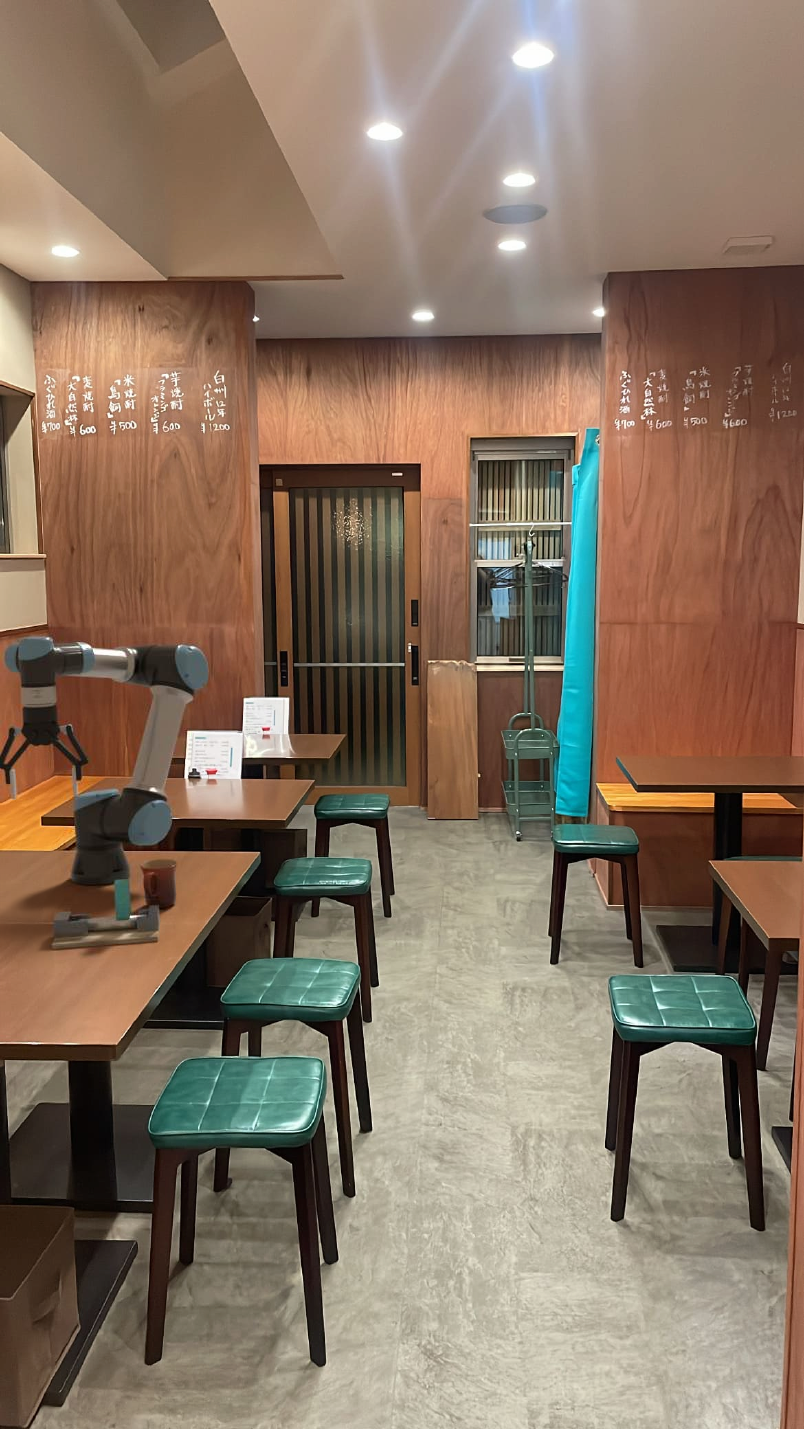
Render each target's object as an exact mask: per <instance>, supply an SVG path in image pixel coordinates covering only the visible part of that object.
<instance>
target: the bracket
mask: <svg viewBox="0 0 804 1429" xmlns="http://www.w3.org/2000/svg"><path fill="white" fill-rule="evenodd" d="M90 918H91V913H81V914H80V913H79V914H78V913H77V914H72V911H59V912H56V914H55V917H54V918H53V932H54V933H53V934H54V935H53V936H54V939H55V938H66V937H79V936H88V935H89V934H88V920H84V921H79V919H90Z"/></svg>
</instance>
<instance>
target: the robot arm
mask: <svg viewBox="0 0 804 1429" xmlns="http://www.w3.org/2000/svg"><path fill="white" fill-rule="evenodd" d="M53 640H54V639H53V638H52V637H50V636H29V637H28V636H27V637H22V638H20V640H19V641H18V642H13V643H10V644H9V645H8V646H7V648H6V650H5V652H4V655H3V656H4V660H3V661H4V664H5V666H6V668H7V669H8V670H9V671H11V672H12V673H15V674H19V676H20V677H19V678H20V692H21V693H20V694H21V704H22V705H24V706H23V707H22V727H16V726H14V725H13V726H11V727H10V728H9V729H8V738H7V740H6V742H5V744H4V746H3V748H2V751H1V753H0V770H3V771H4V774H5V775H4V777H5V778H4V779H5V784H6V785H10V793H11V794H10V796H11V798H10V799H11V800H15V799H17V798H18V792H17V790H18V789H17V778H16V777H17V776H16V769H15V768H13V766H15V764H16V763H17V761H18V760H19V759H20V758H21V756H22V755H23V754H24V752H26V750H27V749H28V748H29V746H30V745H32V746H33V747H38V746H45V747H46V746H50V745H53V746H54V747H55V748H56V749H58V750H59V752H60V753H62V755H63V756H64V757H66V758H67V760H68V761H69V762H70V763H72V765H73V766H72V767H71V774H72V775H71V776H72V794H73V797H75V798H74V800H73V820H74V822H73V823H74V835H75V848H76V851H75V856H74V859H73V863H72V866H71V870H70V880H71V882H72V883H74V884H76V885H83V886H100V885H107V884H114V882H115V880H122V879H129V878H130V877H131V865H130V863H129V860H128V858H127V856H126V854H125V850H124V848H123V843H125V844H130V845H131V844H132V845H133V844H134V845H135V846H153V845H156V844H158V843H159V842H160V841H163V839H164V838H165V837H167V834H168V833H169V831H170V829H171V826H172V823H173V822H172V821H173V813H172V808H171V806H170V805H169V804H168V803H167V802H168V799H169V797H168V795H167V794H166V792H165V787H166V782H167V779H168V775H169V770H170V768H171V767H170V766H171V764H172V759H173V755H174V753H175V752H174V751H175V749H176V748H175V747H176V744H177V741H178V735H179V733H180V728H181V724H182V721H183V716H184V712H185V708H186V706H187V704H188V703H190V702H192V701H193V700H194V696H195V694H196V691H198V690H201V689H203V687H205V686H206V685H207V683H208V679H209V674H210V672H209V671H210V670H209V663H208V661H207V658H206V656H205V653H204V652H203V650H201V649H200V648H198V647H196V646H193V645H186V644H175V645H174V644H146V645H144V644H143V645H138V646H137V645H135V646H117V647H114V648H113V649H109V648H99V647H92V646H91V645H89V644H88V642H87V643H86V642H81V641H80V642H78V641H74V642H54V641H53ZM64 676H69V677H85V678H100V679H101V678H102V679H103V678H104V679H105V678H107V679H112V680H113V681H115V682H117V683H125V684H132V685H137V686H140V687H141V686H142V687H147V688H149V690H150V692H151V694H152V695H153V698H152V701H151V707H150V710H149V713H148V717H147V720H146V724H145V729H144V731H143V735H142V740H141V743H140V747H139V751H138V755H137V758H136V762H135V766H134V769H133V770H134V771H133V773H132V776H131V780H130V782H129V783H128V784H127V785H125V786H123V788H122V790H121V793H120V791H119V789H117V788H109V789H108V788H107V789H100V790H93V791H89V792H84V793H81V794H79V785H78V784H79V783H78V782H80V781H82V779H83V772H82V771H83V770H82V767H83V766H85V765H88V764H89V762H90V758H89V756H88V755H87V753H86V751H85V750H84V748H83V745H81V742H80V741H79V740H78V737H77V736H76V735H75V732H74V727H73V724H72V723H69V724H66V725H61V726H60V725H59V722H58V720H59V719H58V706H57V705H56V703H57V685H56V678H58V677H64ZM60 732H62V733H63V735H66V736H67V738H68V740H69V741H70V743H71V745H72V747H73V748H74V751H76V753H77V755H78V756H76V755H75V754H74V753H73V752H72V751H71V750H70V749H69V748H68V747H67V746H66V745H65V744H64V743H63V742H62V740H61V739H60V738H59V737H58V735H60ZM20 734H22V736H23V737H25V739H26V740H24V742H23V743H22V744H21V746H20V747H19V748H18V750H17V751H16V752H15V753H14V754H13V756H12V757H11V758H10V759H9V761H8V762H7V763H6V762H5V761H6V760H7V757H8V756H9V753H10V751H11V749H12V746H13V743H14V741H15V739H16V738H17V737H19V736H20Z"/></svg>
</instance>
